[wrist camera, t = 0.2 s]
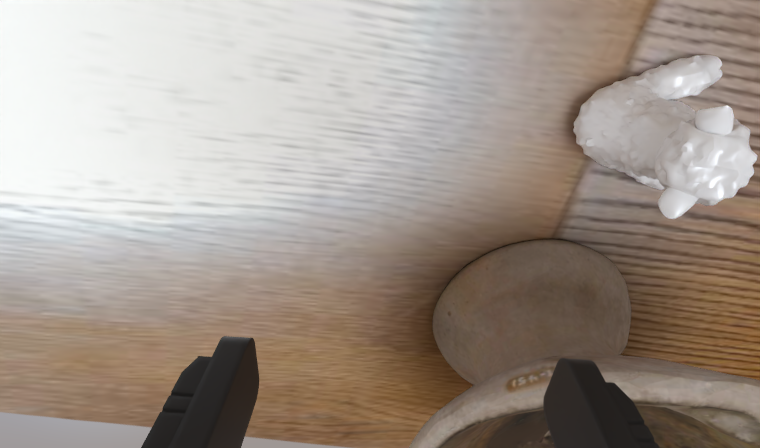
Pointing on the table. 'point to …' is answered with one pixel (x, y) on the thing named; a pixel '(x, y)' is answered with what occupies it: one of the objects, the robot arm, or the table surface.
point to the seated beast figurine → (669, 135)
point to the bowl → (566, 355)
